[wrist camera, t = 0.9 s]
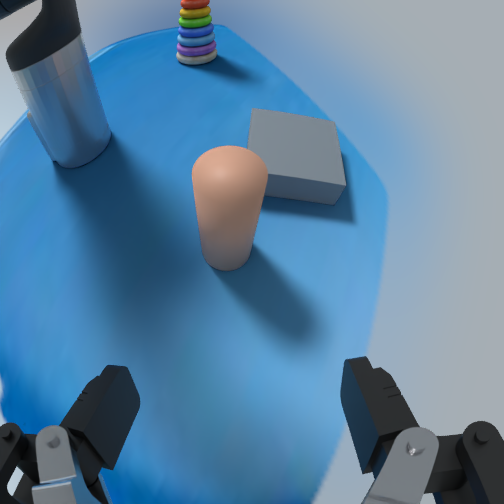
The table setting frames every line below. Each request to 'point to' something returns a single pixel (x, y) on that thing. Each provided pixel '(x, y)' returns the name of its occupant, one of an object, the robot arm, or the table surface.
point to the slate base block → (298, 155)
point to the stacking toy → (196, 33)
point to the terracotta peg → (228, 203)
